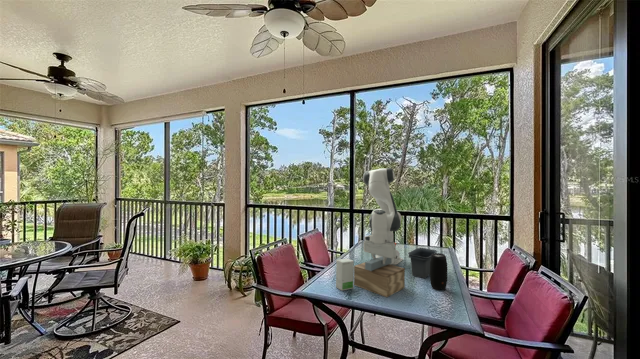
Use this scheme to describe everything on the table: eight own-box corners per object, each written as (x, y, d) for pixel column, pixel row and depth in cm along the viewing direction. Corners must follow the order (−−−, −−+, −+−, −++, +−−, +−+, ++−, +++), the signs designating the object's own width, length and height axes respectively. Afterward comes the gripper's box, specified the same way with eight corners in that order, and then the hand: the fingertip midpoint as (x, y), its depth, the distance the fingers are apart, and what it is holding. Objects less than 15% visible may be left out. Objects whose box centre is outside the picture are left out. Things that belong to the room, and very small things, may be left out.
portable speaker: (448, 292, 147) (448, 257, 147) (430, 290, 150) (430, 256, 150) (445, 286, 155) (446, 253, 155) (428, 284, 158) (429, 252, 158)
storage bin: (427, 281, 163) (427, 257, 163) (403, 274, 174) (403, 252, 174) (438, 272, 179) (439, 250, 179) (415, 267, 190) (416, 246, 190)
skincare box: (341, 291, 147) (341, 262, 147) (335, 286, 153) (335, 259, 153) (354, 288, 151) (354, 260, 151) (347, 284, 157) (347, 257, 157)
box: (372, 277, 168) (372, 261, 168) (404, 288, 152) (404, 270, 152) (353, 284, 156) (354, 267, 156) (386, 297, 140) (386, 278, 140)
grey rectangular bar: (385, 261, 162) (385, 255, 162) (391, 263, 159) (391, 256, 159) (365, 269, 149) (365, 261, 149) (371, 271, 146) (371, 263, 146)
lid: (372, 261, 168) (372, 259, 168) (404, 270, 152) (404, 268, 152) (354, 267, 156) (354, 265, 156) (386, 277, 140) (386, 276, 140)
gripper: (398, 241, 149) (398, 265, 149) (368, 235, 164) (368, 257, 164) (392, 242, 145) (392, 268, 145) (361, 236, 160) (361, 259, 160)
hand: (379, 262), depth 154 cm, fingers closed on grey rectangular bar, 4 cm apart
